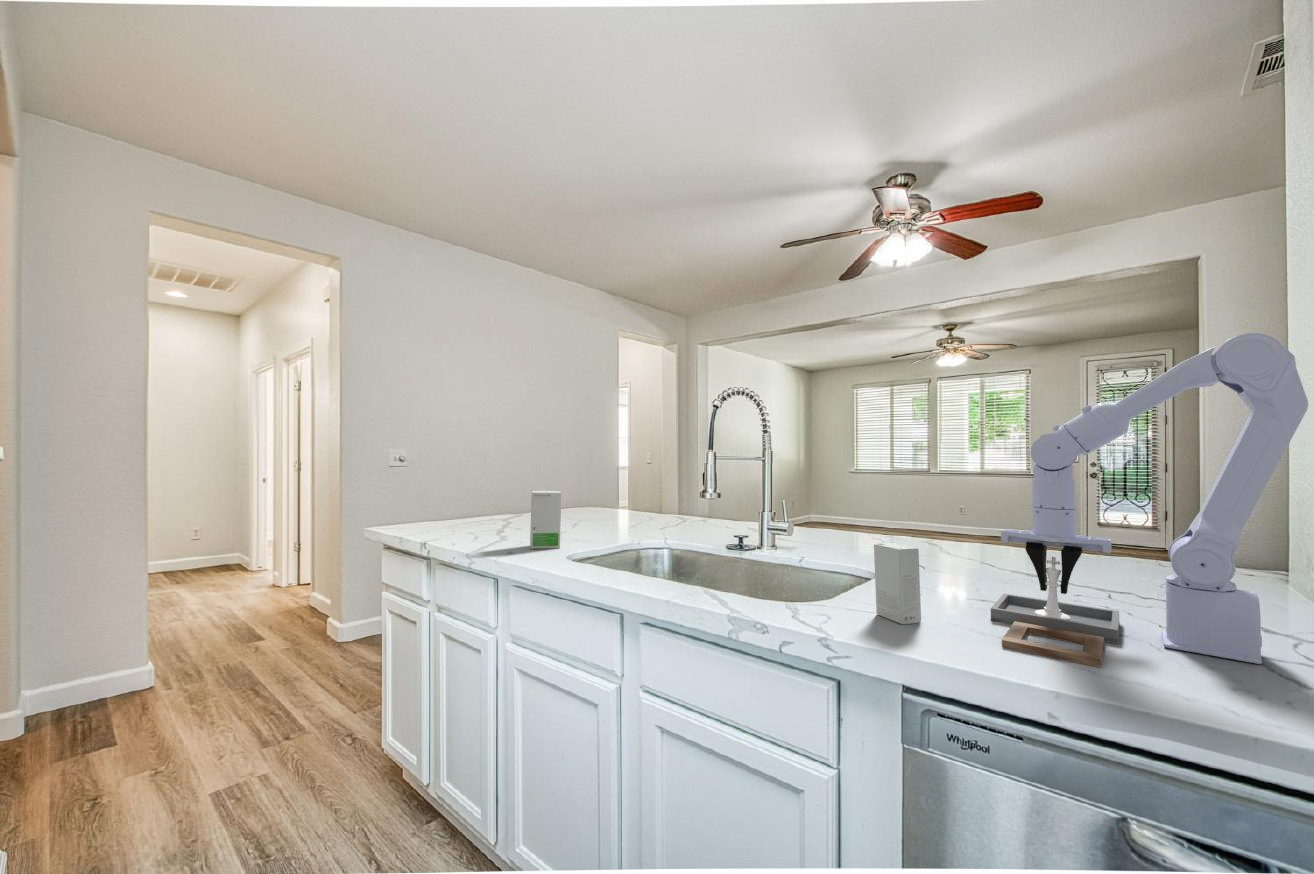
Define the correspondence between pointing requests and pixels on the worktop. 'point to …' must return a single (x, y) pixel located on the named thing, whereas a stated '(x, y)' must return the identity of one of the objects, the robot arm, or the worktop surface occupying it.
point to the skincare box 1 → (545, 519)
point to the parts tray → (1080, 622)
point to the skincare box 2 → (897, 582)
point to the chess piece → (1052, 593)
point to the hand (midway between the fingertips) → (1053, 591)
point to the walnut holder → (1087, 656)
